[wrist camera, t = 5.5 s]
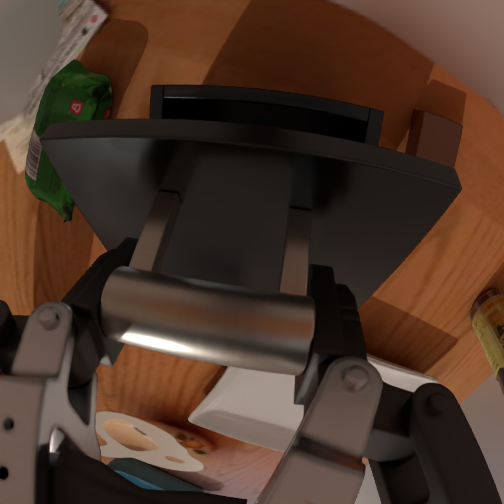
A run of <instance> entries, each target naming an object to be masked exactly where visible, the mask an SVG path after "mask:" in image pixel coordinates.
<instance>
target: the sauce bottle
mask: <svg viewBox="0 0 504 504" xmlns="http://www.w3.org/2000/svg"><path fill="white" fill-rule="evenodd" d="M470 319H471V323H472V326H473V329H474V331H475V333H476V335H477V337H478V339H479V341H480V343H481V345H482V347H483V350H484V352H485V354H486V356H487V358H488V360H489V363H490V365H491V367H492V369H493V372H494V374H495V376H496V379H497V380H498V382H499V384H500V386H501V389H502V392H503V394H504V292H503V291H502V290H499V289H491V290H489V291H487V292H485V293H484V294H482V295H480V296H479V297H478V298H477V299H476V301H475V303H474V305H473V307H472V308H471V312H470Z"/></svg>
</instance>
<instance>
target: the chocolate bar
mask: <svg viewBox="0 0 504 504" xmlns="http://www.w3.org/2000/svg"><path fill="white" fill-rule="evenodd" d="M462 128H463V125H461V124H459V123H456V122H454V121H451V120H448V119H446V118H443V117H440V116H438V115H435V114H432V113H429V112H426V111H422V110H416V109H414V110H413V115H412V121H411V127H410V132H409V137H408V142H407V147H406V152H405V153H406V154H409V155H413V156H416V157H420V158H423V159H427V160H430V161H433V162H436V163H440V164H443V165H446V166H449V167H452V168H454V165H455V161H456V157H457V153H458V148H459V143H460V139H461V134H462Z"/></svg>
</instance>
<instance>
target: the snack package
mask: <svg viewBox="0 0 504 504" xmlns="http://www.w3.org/2000/svg"><path fill="white" fill-rule="evenodd" d="M112 99H113V97H112V88H111V82H110V80H109V78H108V77H107V76H105V75H100V74H97V73H94V72H91V71H89V70H87V69H86V68H84V67H83V66H82V64H81V63H80V62H79V61H78V60H75V59H73V60H72V61H71V62H70V63H69V64H68V65H66V66H65V67H64V68H63V69H62V70H60V71H59V72H58V73H57V74H56V75H55V76H54V77H52V79H51V80H50V81H49V83H48V85H47V86H46V88H45V91H44V94H43V96H42V99H41V101H40V105H39V108H38V112H37V115H36V121H35V124H34V128H33V132H32V135H31V139H30V143H29V149H28V154H27V159H26V167H25V179H26V183H27V186H28V188H29V189H30V191H31V192H32V193H33V195H34V196H35V197H36V198H37V199H39V200H42V201H44V202H46V203H48V204H49V205H51V206H52V207H53V208H54V209H55V210H57V211H58V212H59V214H60V215H61V216H62V217H63V218H65V220H64V222H66V221H70V222H71V220H72V212H73V208H74V205H75V202H74V200H73V199H72V197H71V195H70V194H69V192H68V190H67V189H66V187H65V185H64V184H63V182H62V180H61V179H60V177H59V175H58V174H57V172H56V170H55V169H54V167H53V165H52V163H51V161H50V160H49V158H48V156H47V154H46V152H45V151H44V149H43V147H42V145H41V143H40V141H39V138H40V137H41V136H42V135H43V133H44V132H45V131H46V130H47V128H48V127H49V126H50V125H51V124H52V123H61V122H72V121H86V120H105V119H108V116H109V114H110V110H111V106H112Z"/></svg>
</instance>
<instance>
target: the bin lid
mask: <svg viewBox="0 0 504 504" xmlns="http://www.w3.org/2000/svg"><path fill="white" fill-rule="evenodd" d="M39 141H40V143H41V145H42V147H43V149H44V151H45V152H46V154H47V156H48V158H49V160H50V161H51V163H52V165H53V167H54V169H55V170H56V172H57V174H58V175H59V177H60V179H61V180H62V182H63V184H64V185H65V187H66V189H67V190H68V192H69V194H70V195H71V197H72V199H73V200H74V202H75V203H76V205H77V206H78V208H79V210H80V211H81V213H82V214H83V216H84V217H85V219H86V220H87V222H88V223H89V225H90V226H91V228H92V229H93V231H94V232H95V234H96V235H97V237H98V238H99V240H100V241H101V242H102V244H103V245H104V247H105V248H106V249H107V251H109V250H111V249H116V248H117V247H118V246H119V245H120V244H121V243H122V242H123V240H124V239H125V238H126V237H128V236H130V237H137V238H139V240H138V242H137V245H136V248H135V250H134V253H133V256H132V259H131V262H130V264H129V267H126V266H122V267H118V268H116V269H115V270H114V271H113V272H112V273H111V274H110V276H109V277H108V279H107V281H106V283H105V286H104V288H103V292H102V295H101V300H100V309H99V316H100V324H101V328H102V330H103V332H104V334H105V335H106V336H107V337H108V338H109V339H112V340H115V341H119V342H122V343H126V344H129V345H133V346H137V347H141V348H145V349H149V350H153V351H157V352H161V353H165V354H170V355H174V356H179V357H183V358H188V359H193V360H198V361H203V362H208V363H213V364H218V365H224V366H230V367H236V368H242V369H248V370H255V371H262V372H269V373H277V374H285V375H294V376H300V375H302V374H303V373H304V371H305V369H306V367H307V365H308V362H309V358H310V355H311V350H312V345H313V339H314V332H315V321H316V309H315V302H314V299H313V298H312V297H310V296H307V285H308V273H309V263H310V264H317V265H324V266H331V267H332V268H333V272H334V278H335V283H337V284H344V285H347V287H348V288H349V289H350V290H351V292H352V293H353V294H354V296H355V299H356V304H357V308H359V307H360V306H361V305H362V304H363V303H364V302H365V301H366V300H367V299H368V298H369V297H370V296H371V295H372V294H373V293H374V292H375V291H376V290H377V289H378V288H379V287H380V286H381V285H382V284H383V283H384V282H385V281H386V280H387V279H388V278H389V276H390V275H391V274H392V273H393V272H394V271H395V270H396V269H397V268H398V267H399V266H400V264H401V263H402V262H403V261H404V260H405V259H406V258H407V257H408V255H409V254H410V253H411V252H412V251H413V250H414V249H415V247H416V246H417V245H418V244H419V243H420V242H421V240H422V239H423V238H424V237H425V236H426V235H427V233H428V232H429V231H430V230H431V228H432V227H433V226H434V225H435V224H436V222H437V221H438V220H439V219H440V217H441V216H442V215H443V214H444V212H445V211H446V210H447V209H448V207H449V206H450V205H451V203H452V202H453V201H454V199H455V198H456V197H457V195H458V194H459V193H460V191H461V190H462V187H461V184H460V181H459V178H458V176H457V173H456V170H455V169H454V168H452V167H449V166H446V165H443V164H440V163H436V162H433V161H430V160H427V159H423V158H420V157H416V156H413V155H409V154H406V153H402V152H398V151H394V150H390V149H386V148H382V147H378V146H374V145H370V144H365V143H361V142H356V141H352V140H347V139H342V138H337V137H332V136H326V135H321V134H315V133H309V132H303V131H297V130H290V129H283V128H276V127H268V126H260V125H251V124H241V123H230V122H218V121H203V120H183V119H105V120H86V121H72V122H61V123H52V124H51V125H50V126H49V127H48V128H47V130H46V131H45V132H44V133H43V135H42V136H41V137H40V138H39Z"/></svg>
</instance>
